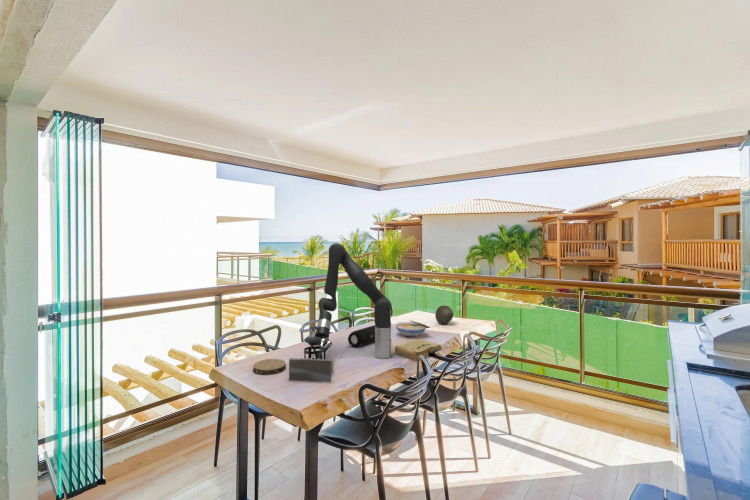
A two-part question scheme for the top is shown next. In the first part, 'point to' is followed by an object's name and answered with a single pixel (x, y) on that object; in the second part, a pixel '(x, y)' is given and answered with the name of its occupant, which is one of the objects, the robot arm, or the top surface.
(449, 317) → the dark grey ball
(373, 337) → the portable speaker
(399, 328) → the ramen bowl
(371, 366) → the top surface
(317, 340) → the french press
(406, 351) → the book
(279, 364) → the wood slice
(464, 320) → the top surface
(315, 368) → the docking bay
